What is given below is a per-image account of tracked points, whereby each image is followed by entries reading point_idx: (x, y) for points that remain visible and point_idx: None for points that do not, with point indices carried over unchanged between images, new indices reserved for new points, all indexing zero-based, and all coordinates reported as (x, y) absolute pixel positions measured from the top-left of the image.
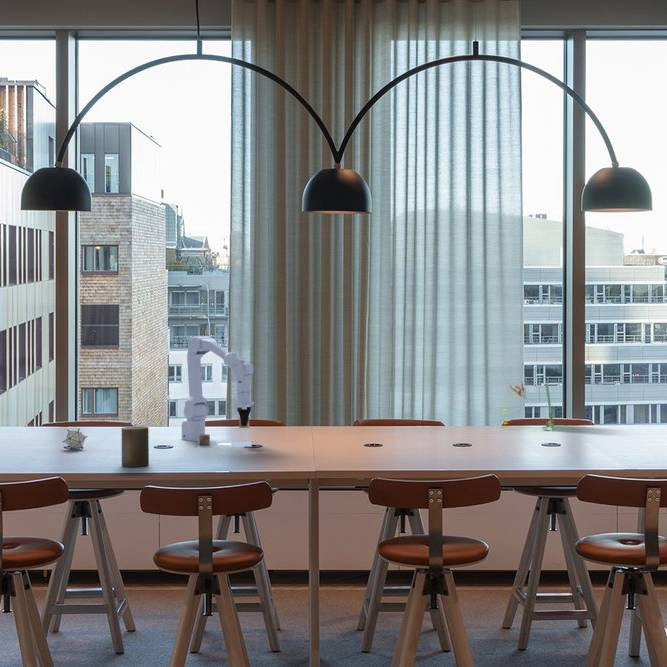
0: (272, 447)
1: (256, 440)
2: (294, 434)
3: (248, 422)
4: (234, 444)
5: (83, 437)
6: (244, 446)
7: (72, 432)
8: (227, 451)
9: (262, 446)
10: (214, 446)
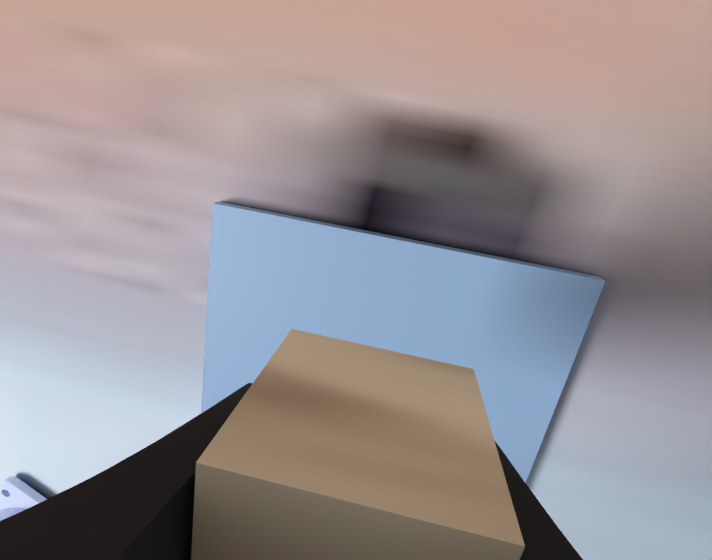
0: (623, 14)
1: (32, 108)
2: None
3: (489, 454)
4: None
5: None
6: (543, 345)
7: None
8: (690, 515)
9: (488, 129)
10: None
